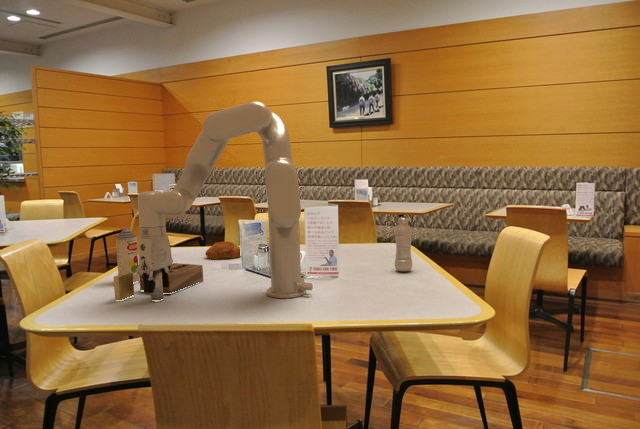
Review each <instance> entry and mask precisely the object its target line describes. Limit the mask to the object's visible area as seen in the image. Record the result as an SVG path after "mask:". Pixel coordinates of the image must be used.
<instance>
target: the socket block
mask: <svg viewBox="0 0 640 429" xmlns="http://www.w3.org/2000/svg"><path fill="white" fill-rule="evenodd" d="M148 274H149V272H147V275H148ZM168 280H169V287H163V293H172V292H175V291H178V290H180V289H183V288H185V287H188V286H191V285H193V284H196V283H198V282H201V281H203V282H204V271H203V265H202V264H192V263H177V262H176V263H175V262H174V263H172V265H171V268H170V270H169V274H168ZM139 281H140V282H139V288H140V290H144V280H142V278H141V277H140V276H139Z"/></svg>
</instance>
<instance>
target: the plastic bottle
mask: <svg viewBox="0 0 640 429" xmlns="http://www.w3.org/2000/svg"><path fill="white" fill-rule="evenodd" d="M397 219H398V220H397V223H398V225H397V226H396V227H395V230H394V240H395V246H396V249H395V259H394V268H395V270H396V271H397V272H400V273H401V272H402V273H404V272H405V273H407V272H411V270H412V268H413V259H412V254H411V253H412V251H411V248H412V237H413V235H412V234H413V230H412V228H411V226H410V225H409V224H408V223H409V217H407V216H398V218H397Z"/></svg>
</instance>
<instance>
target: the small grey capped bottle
mask: <svg viewBox="0 0 640 429" xmlns="http://www.w3.org/2000/svg"><path fill="white" fill-rule="evenodd" d="M151 280H153V284H154V293H150V301H151V300H161V299H163V298H164V295H163V282H162V271H159V270H156V271H153V274H152V279H151ZM164 299H165V298H164Z"/></svg>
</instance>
